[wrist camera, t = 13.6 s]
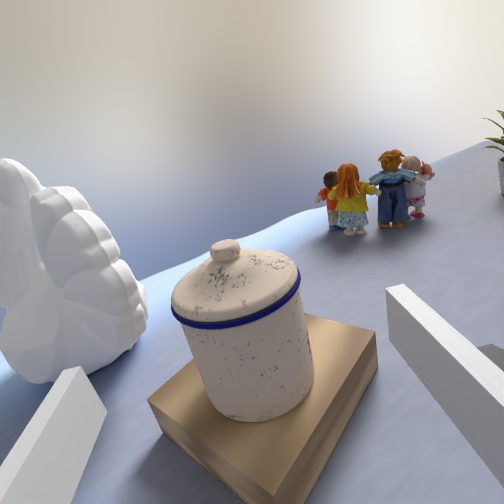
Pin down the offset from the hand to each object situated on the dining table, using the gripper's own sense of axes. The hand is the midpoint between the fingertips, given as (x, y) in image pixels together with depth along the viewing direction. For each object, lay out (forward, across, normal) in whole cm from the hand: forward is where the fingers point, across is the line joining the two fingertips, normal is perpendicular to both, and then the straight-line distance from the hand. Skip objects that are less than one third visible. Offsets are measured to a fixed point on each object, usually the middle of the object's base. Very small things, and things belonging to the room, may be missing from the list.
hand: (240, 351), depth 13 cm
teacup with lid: (+10, -1, -10) cm, 14 cm away
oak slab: (+10, 0, -14) cm, 17 cm away
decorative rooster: (+20, -20, -14) cm, 32 cm away
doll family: (+42, +25, -15) cm, 50 cm away
